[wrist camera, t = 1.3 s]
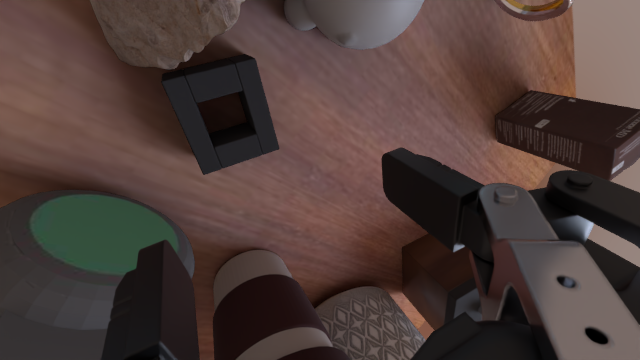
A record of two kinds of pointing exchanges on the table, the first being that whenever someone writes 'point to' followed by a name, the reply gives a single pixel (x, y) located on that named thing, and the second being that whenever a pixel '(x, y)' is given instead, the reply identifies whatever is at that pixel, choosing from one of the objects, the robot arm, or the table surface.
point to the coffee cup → (266, 313)
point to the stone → (163, 28)
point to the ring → (534, 9)
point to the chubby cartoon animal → (353, 19)
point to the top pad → (214, 83)
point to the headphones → (71, 268)
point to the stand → (433, 276)
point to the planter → (369, 325)
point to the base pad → (464, 302)
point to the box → (573, 132)
